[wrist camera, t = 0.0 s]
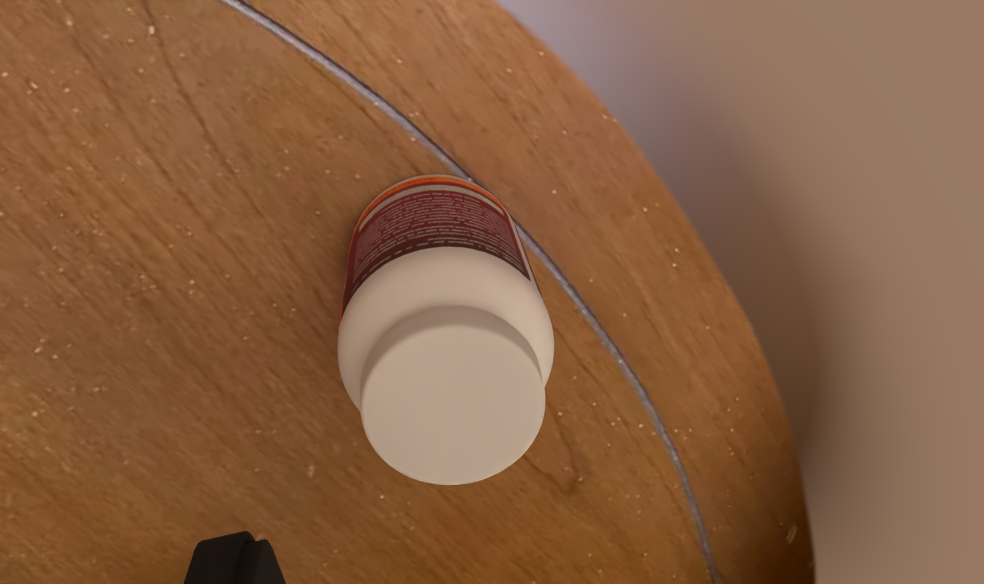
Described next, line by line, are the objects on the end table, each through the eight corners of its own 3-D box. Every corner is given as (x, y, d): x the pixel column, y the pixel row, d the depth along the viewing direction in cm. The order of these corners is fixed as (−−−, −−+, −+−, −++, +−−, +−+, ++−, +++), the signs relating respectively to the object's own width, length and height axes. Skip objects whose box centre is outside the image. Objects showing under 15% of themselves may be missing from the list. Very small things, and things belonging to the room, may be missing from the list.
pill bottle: (314, 235, 31) (273, 389, 21) (453, 134, 30) (481, 244, 20) (419, 357, 33) (427, 548, 23) (551, 267, 32) (620, 425, 22)
